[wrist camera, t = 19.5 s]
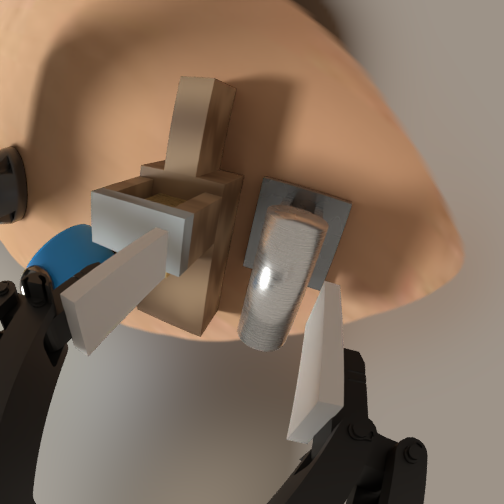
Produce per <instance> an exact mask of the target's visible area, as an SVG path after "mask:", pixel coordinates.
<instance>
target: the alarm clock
mask: <svg viewBox="0 0 504 504" xmlns="http://www.w3.org/2000/svg"><path fill="white" fill-rule="evenodd" d="M113 255H114V253H113V252H112V251H111V249H108V248H106V247H104V246H102V245H99V244H97V243H95V242H92V227H91V226H90V225H86V224H80V225H76V226H73V227H70V228H68V229H66V230H64V231H62V232H60V233H59V234H57V235H56V236H54V237H53V238H52V239H50V240H49V241H48V242H47V243H46V244H45V245H44V246H43V247H42V248H41V249H40V250H39V251H38V252H37V253H36V254H35V256H34V257H33V258H32V260H31V261H30V262H29V264H28V266H27V268H26V269H25V270H24V272H23V273H22V275H21V278H20V283H19V289H20V294H23V295H25V294H24V290H23V287H22V283H21V279H22V278H23V277H24V276H26V275H28V274H30V273H34V272H41V273H44V274H46V275H47V276H48V277H49V281H50V285H51V290H52V291H53V290H54V289H55V288H57V287H58V286H59V285H61V284H62V283H64V282H65V281H66V280H68V279H69V278H71V277H73V275H75V274H76V273H78V272H80V270H82V269H83V268H85V267H86V266H88V265H90V264H93V263H96V262H100V263H103V262H104V261H106V260H107V259H109V258H110V257H112V256H113Z"/></svg>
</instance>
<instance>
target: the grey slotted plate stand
mask: <svg viewBox="0 0 504 504" xmlns="http://www.w3.org/2000/svg"><path fill="white" fill-rule="evenodd" d="M272 205H286V206H292V207H296V208H300V209H303V210H306V211H309V212H311V213H313V214H316V215H317V216H319V217H321V218H322V219H324V220H325V221H326V222H327V223H328V225H329V227H328V230H327V233H326V236H325V239H324V242H323V245H322V248H321V251H320V253H319V256H318V259H317V262H316V265H315V267H314V270H313V273H312V275H311V278H310V281H309V284H308V286H307V287H310V288H313V289H316V290H319V291H320V290H321V288H322V285H323V283H324V280H325V278H326V275H327V273H328V270H329V268H330V265H331V262H332V260H333V257H334V254H335V252H336V249H337V246H338V244H339V241H340V238H341V235H342V233H343V230H344V227H345V224H346V221H347V218H348V215H349V212H350V209H351V206H352V203H351V202H350V201H347V200H344V199H341V198H338V197H335V196H332V195H329V194H325V193H322V192H319V191H316V190H313V189H309V188H306V187H303V186H299V185H296V184H293V183H289V182H286V181H282V180H279V179H275V178H271V177H268V176H265V177H264V178H263V182H262V186H261V190H260V195H259V199H258V203H257V208H256V212H255V216H254V220H253V225H252V229H251V233H250V238H249V242H248V247H247V251H246V255H245V260H244V264H243V266H245V267H248V268H251V269H252V268H253V264H254V260H255V256H256V252H257V248H258V244H259V240H260V236H261V232H262V228H263V224H264V220H265V216H266V212H267V208H268V207H269V206H272Z"/></svg>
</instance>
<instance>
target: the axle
mask: <svg viewBox="0 0 504 504" xmlns="http://www.w3.org/2000/svg"><path fill="white" fill-rule="evenodd" d="M328 227H329V225H328V223H327V222H326V221H325V220H324V219H322V218H321V217H319V216H317V215H316V214H313V213H311V212H309V211H306V210H303V209H300V208H296V207H292V206H286V205H272V206H269V207H268V208H267V212H266V216H265V220H264V224H263V228H262V232H261V236H260V240H259V244H258V248H257V252H256V256H255V260H254V264H253V268H252V272H251V276H250V280H249V284H248V288H247V292H246V296H245V300H244V304H243V308H242V312H241V316H240V320H239V324H238V329H237V332H238V335H239V337H240V339H241V340H242V341H243V342H244V343H245V344H246V345H247V346H249V347H251V348H253V349H255V350H259V351H275V350H277V349H279V348H281V347H282V346H283V345H284V343H285V341H286V339H287V336H288V334H289V332H290V329H291V327H292V324H293V322H294V319H295V317H296V314H297V312H298V309H299V307H300V304H301V302H302V299H303V297H304V294H305V291H306V289H307V286H308V284H309V281H310V278H311V275H312V273H313V270H314V267H315V265H316V262H317V259H318V256H319V253H320V251H321V248H322V245H323V242H324V239H325V236H326V233H327V230H328Z"/></svg>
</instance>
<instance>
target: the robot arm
mask: <svg viewBox="0 0 504 504" xmlns="http://www.w3.org/2000/svg"><path fill="white" fill-rule="evenodd" d="M26 205H27V185H26V177H25V171H24V167H23V163H22V160H21V157H20V155H19V153H18V151H17V150H16V149H15V148H14V147H8V148H4V149H1V150H0V224H11V223H14V222H17V221H19V220H21V219H22V218H23V216H24V214H25V211H26ZM168 232H169V231H166V230H163V229H160V228H154V229H152V230H151V231H149V232H148V233H146V234H145V235H143V236H142V237H140V238H138V239H137V240H135V241H134V242H132V243H131V244H129V245H128V246H126V247H125V248H123V249H122V250H120V251H119V252H117V253H116V254H114V255H113V256H112V257H110V258H109V259H107V260H106V261H104V262H103V263H100V262H96V263H93V264H90V265H88V266H86V267H85V268H83V269H82V270H80V272H78V273H76V274H75V275H73V277H71V278H69V279H68V280H66V281H65V282H64V283H62V284H61V285H59V286H58V287H57V288H55V289H54V290H53V291H52V290H51V285H50V281H49V277H48V276H47V275H46V274H44V273H41V272H34V273H30V274H28V275H26V276H24V277H23V278H22V279H21V283H22V287H23V290H24V294H25V295H23V294H19V293H17V290H16V287H15V284H14V283H13V282H11V281H2V282H0V321H1V324H2V326H3V328H4V330H2V331H0V504H36V503H35V501H34V499H33V486H34V478H35V471H36V464H37V458H38V453H39V448H40V442H41V438H42V433H43V429H44V425H45V421H46V417H47V414H48V410H49V406H50V403H51V399H52V396H53V393H54V389H55V386H56V383H57V380H58V377H59V374H60V371H61V368H62V366H63V363H64V360H65V357H66V355H67V352H68V345H67V342H68V341H69V340H70V339H71V338H72V340H73V343H74V346H75V348H76V349H78V350H79V351H81V352H82V353H84V354H85V355H87V356H89V355H90V354H91V353H92V352H93V351H94V350H95V349H96V348H97V347H98V345H100V343H101V342H102V341H103V340H104V339H105V338H106V337H107V336H108V335H109V334H110V333H111V332H112V331H113V330H114V329H115V328H116V327H117V325H118V324H119V323H120V322H121V321H122V320H123V319H124V318H125V317H126V316H127V315H128V314H129V313H130V312H131V311H132V310H133V309H134V308H135V307H136V306H137V305H138V304H139V303H140V302H141V301H142V300H143V299H144V298H145V297H146V296H147V295H148V294H149V293H150V292H151V291H152V290H153V289H154V288H155V287H156V286H157V285H158V284H159V283H160V282H161V281H162V280H163V279H164V278H165V273H166V257H167V244H168ZM365 383H366V376H365V363H364V361H363V359H362V357H361V355H360V353H359V352H357V351H353V350H349V349H346V348H343V323H342V306H341V292H340V285H337V284H334V283H331V282H328V281H324V284H323V286H322V288H321V291H320V293H319V296H318V298H317V300H316V303H315V305H314V307H313V309H312V312H311V314H310V316H309V319H308V321H307V323H306V326H305V334H304V341H303V348H302V355H301V362H300V368H299V375H298V381H297V387H296V393H295V398H294V404H293V409H292V414H291V420H290V425H289V430H288V435H287V440H292V441H296V442H301V443H306V444H308V443H309V442H310V441H311V440H312V439H313V445H312V449H311V450H310V451H309V452H308V453H306V454H305V455H304V456H303V457H302V458H301V459H300V460H301V462H300V464H299V465H298V466H297V468H296V469H295V471H294V472H293V473H292V474H291V475H290V477H289V478H288V479H287V481H286V482H285V483H284V484H283V485H282V487H281V488H280V489H279V490H278V491H277V493H276V494H275V495H274V496H273V497H272V498H271V500H270V501H269V502H268V503H267V504H344V503H345V501H346V500H347V501H346V504H423V503H424V494H425V486H426V474H427V450H426V448H425V446H424V444H423V443H422V442H421V441H420V440H418V439H416V438H413V437H411V438H410V437H407V438H405V439H403V440H401V441H400V442H399V443H398V442H396V441H393V440H391V439H388V438H386V437H384V436H382V435H380V434H378V433H377V430H376V427H375V425H374V424H373V422H372V421H371V420H370V419H369V418H368V406H367V388H366V384H365Z"/></svg>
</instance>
